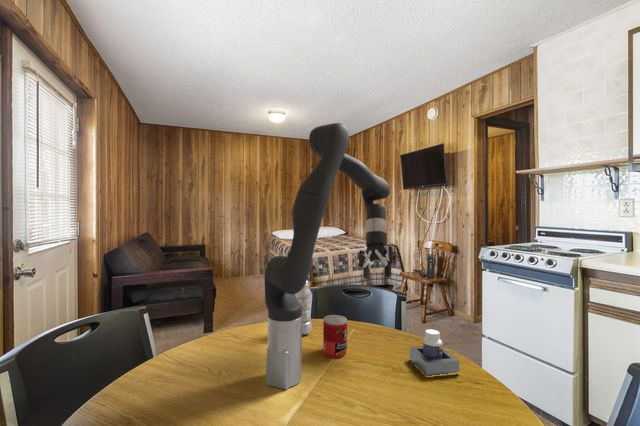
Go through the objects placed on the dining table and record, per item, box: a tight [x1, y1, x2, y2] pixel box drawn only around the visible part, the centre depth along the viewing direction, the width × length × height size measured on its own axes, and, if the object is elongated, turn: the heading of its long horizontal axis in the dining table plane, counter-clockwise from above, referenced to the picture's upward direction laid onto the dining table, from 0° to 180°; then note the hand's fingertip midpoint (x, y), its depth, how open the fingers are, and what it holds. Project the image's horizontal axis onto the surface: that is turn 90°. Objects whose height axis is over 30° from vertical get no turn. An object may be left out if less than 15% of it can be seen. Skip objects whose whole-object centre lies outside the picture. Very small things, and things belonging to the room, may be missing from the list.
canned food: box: [322, 314, 348, 359], centre depth 97 cm, size 8×8×11 cm
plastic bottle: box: [294, 279, 313, 336], centre depth 112 cm, size 6×7×20 cm
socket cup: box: [409, 345, 460, 376], centre depth 88 cm, size 10×10×4 cm
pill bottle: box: [422, 329, 443, 360], centre depth 88 cm, size 5×5×10 cm
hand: (377, 278), depth 101 cm, fingers open, 8 cm apart
